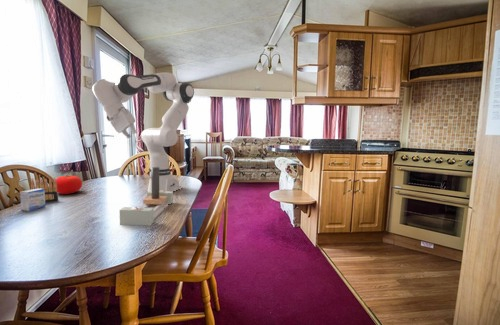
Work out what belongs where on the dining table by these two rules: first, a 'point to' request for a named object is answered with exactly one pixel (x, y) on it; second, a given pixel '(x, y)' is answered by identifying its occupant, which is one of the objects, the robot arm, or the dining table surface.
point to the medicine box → (32, 199)
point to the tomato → (68, 184)
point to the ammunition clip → (49, 192)
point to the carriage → (155, 189)
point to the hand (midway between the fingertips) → (132, 135)
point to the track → (144, 211)
